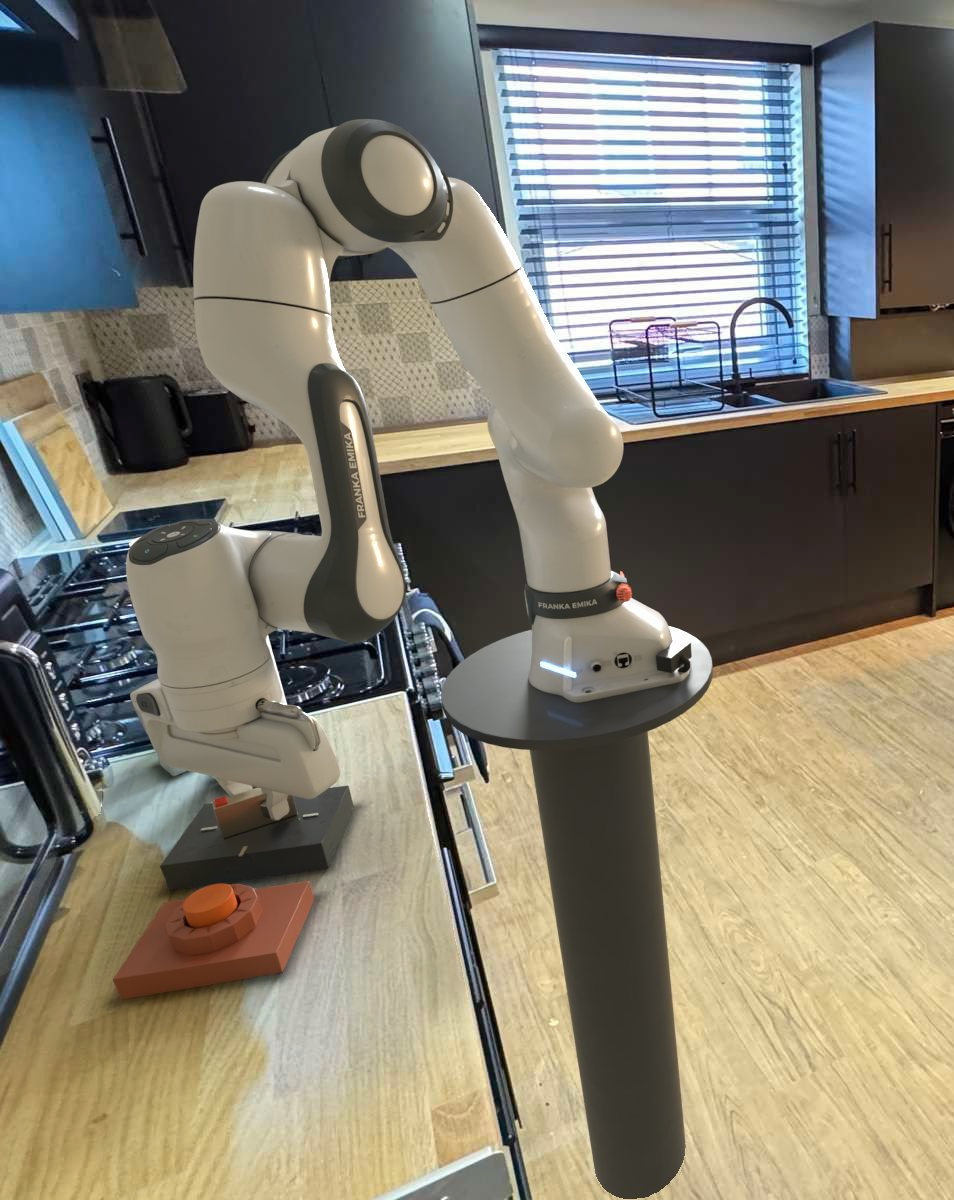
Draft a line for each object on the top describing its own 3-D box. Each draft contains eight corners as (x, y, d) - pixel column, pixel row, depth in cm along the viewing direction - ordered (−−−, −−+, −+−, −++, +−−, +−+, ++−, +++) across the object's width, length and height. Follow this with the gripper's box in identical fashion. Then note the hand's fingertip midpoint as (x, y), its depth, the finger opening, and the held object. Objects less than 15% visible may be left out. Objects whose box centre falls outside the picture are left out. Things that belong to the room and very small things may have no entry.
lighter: (190, 769, 99) (170, 710, 96) (173, 776, 98) (152, 716, 95) (167, 750, 103) (147, 693, 100) (150, 756, 102) (130, 698, 99)
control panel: (355, 806, 92) (349, 782, 91) (327, 870, 83) (320, 844, 82) (213, 825, 90) (205, 800, 88) (167, 893, 80) (157, 866, 79)
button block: (314, 899, 79) (304, 865, 77) (282, 972, 71) (270, 936, 69) (171, 921, 77) (157, 886, 75) (120, 999, 68) (104, 962, 67)
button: (244, 896, 74) (239, 880, 74) (228, 925, 71) (222, 908, 70) (198, 902, 74) (193, 886, 73) (180, 932, 70) (174, 916, 70)
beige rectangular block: (295, 806, 87) (287, 776, 86) (298, 814, 86) (289, 783, 85) (222, 830, 84) (211, 799, 82) (223, 838, 83) (212, 807, 81)
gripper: (337, 693, 79) (369, 813, 85) (179, 663, 85) (218, 777, 91) (280, 727, 74) (318, 853, 79) (116, 692, 80) (161, 812, 85)
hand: (263, 812), depth 85 cm, fingers closed on beige rectangular block, 2 cm apart
